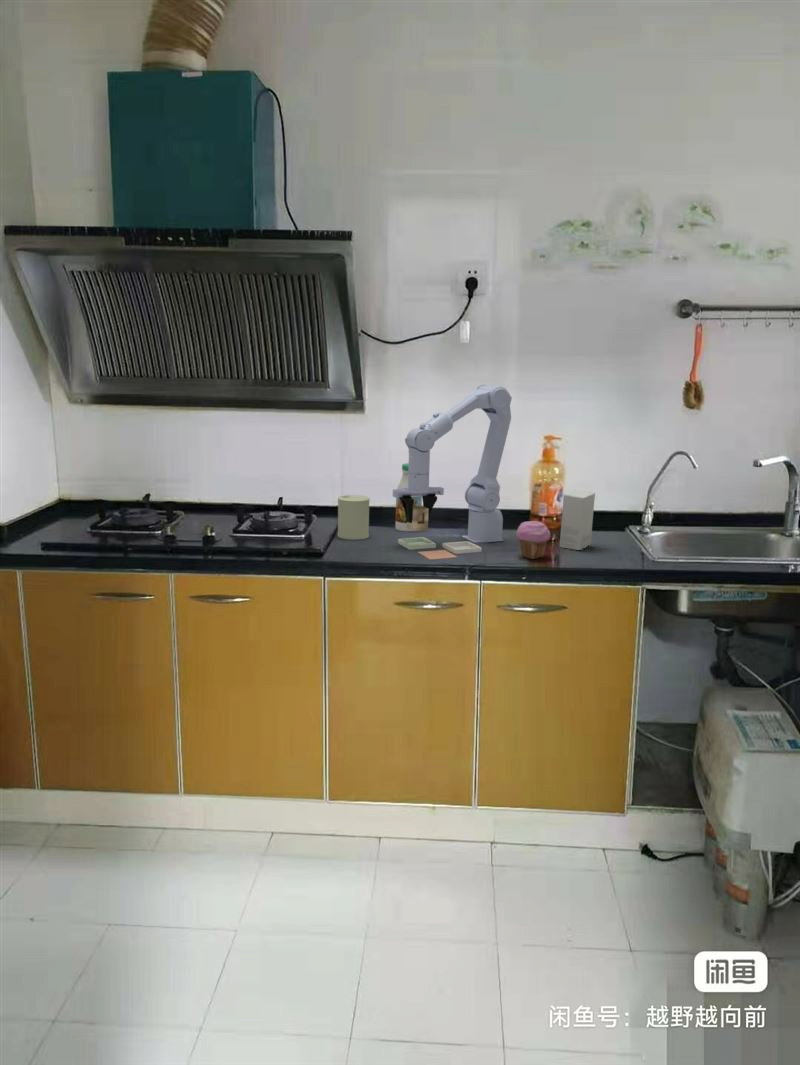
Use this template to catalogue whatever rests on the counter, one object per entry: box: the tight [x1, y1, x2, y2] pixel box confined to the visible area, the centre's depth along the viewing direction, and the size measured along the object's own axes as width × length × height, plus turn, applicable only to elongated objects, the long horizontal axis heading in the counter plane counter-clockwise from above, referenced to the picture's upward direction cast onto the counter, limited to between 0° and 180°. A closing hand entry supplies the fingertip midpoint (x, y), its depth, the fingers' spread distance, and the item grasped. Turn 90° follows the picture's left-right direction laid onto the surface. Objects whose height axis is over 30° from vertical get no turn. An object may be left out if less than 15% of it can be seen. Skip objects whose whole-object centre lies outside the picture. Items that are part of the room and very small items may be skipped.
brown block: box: [407, 505, 429, 532], centre depth 239 cm, size 4×4×6 cm
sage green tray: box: [397, 536, 437, 551], centre depth 241 cm, size 8×8×2 cm
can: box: [337, 494, 370, 540], centre depth 249 cm, size 9×9×12 cm
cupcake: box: [515, 520, 551, 560], centre depth 231 cm, size 9×9×10 cm
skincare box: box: [559, 489, 596, 551], centre depth 243 cm, size 8×7×16 cm
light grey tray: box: [442, 540, 483, 555], centre depth 237 cm, size 8×8×2 cm
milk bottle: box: [395, 462, 423, 532], centre depth 259 cm, size 8×8×20 cm
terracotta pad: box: [417, 549, 458, 561], centre depth 231 cm, size 8×8×1 cm
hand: (417, 521), depth 239 cm, fingers closed on brown block, 4 cm apart
